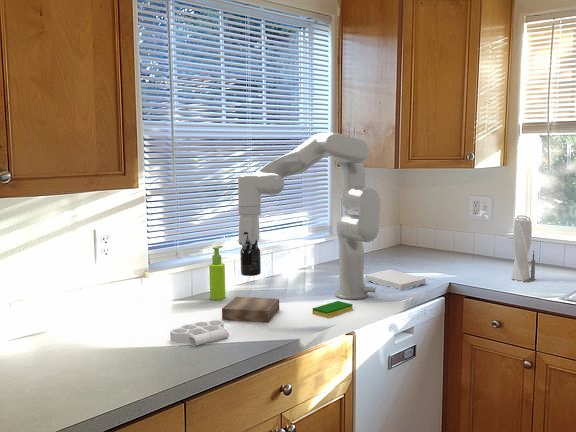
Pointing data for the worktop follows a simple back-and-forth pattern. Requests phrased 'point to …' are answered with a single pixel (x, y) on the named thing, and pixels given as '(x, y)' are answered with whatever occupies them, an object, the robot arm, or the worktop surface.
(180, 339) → the white compartment tray
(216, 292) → the soap dispenser
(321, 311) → the dish sponge
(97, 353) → the worktop surface
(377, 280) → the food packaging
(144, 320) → the worktop surface
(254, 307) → the stand
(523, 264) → the paper towel holder
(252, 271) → the supplement bottle
